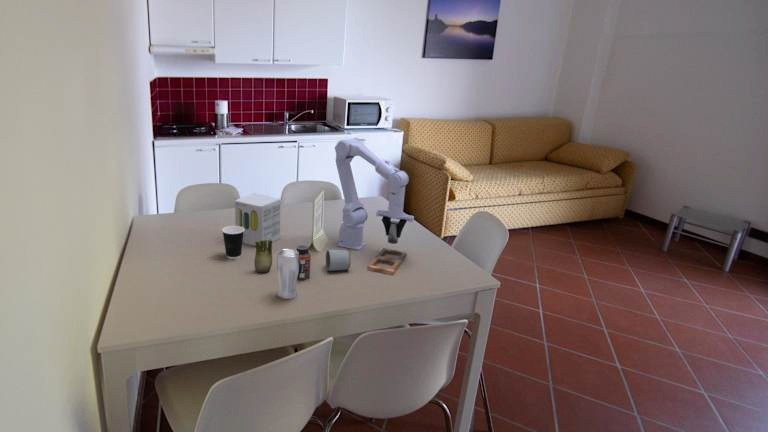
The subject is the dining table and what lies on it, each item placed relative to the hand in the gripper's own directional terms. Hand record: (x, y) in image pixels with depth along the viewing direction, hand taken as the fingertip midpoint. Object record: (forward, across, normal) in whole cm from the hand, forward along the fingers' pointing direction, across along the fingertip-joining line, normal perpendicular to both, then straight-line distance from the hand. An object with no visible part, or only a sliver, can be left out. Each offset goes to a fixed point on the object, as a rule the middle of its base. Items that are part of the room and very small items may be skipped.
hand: (393, 236), depth 193 cm
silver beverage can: (+10, +22, +45) cm, 51 cm away
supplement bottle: (+10, +24, +31) cm, 40 cm away
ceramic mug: (+10, +16, +18) cm, 26 cm away
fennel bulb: (+10, +38, +33) cm, 51 cm away
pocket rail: (+9, 0, +5) cm, 11 cm away
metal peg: (+2, 0, 0) cm, 2 cm away
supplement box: (+10, +55, +8) cm, 56 cm away
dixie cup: (+10, +54, +27) cm, 61 cm away
